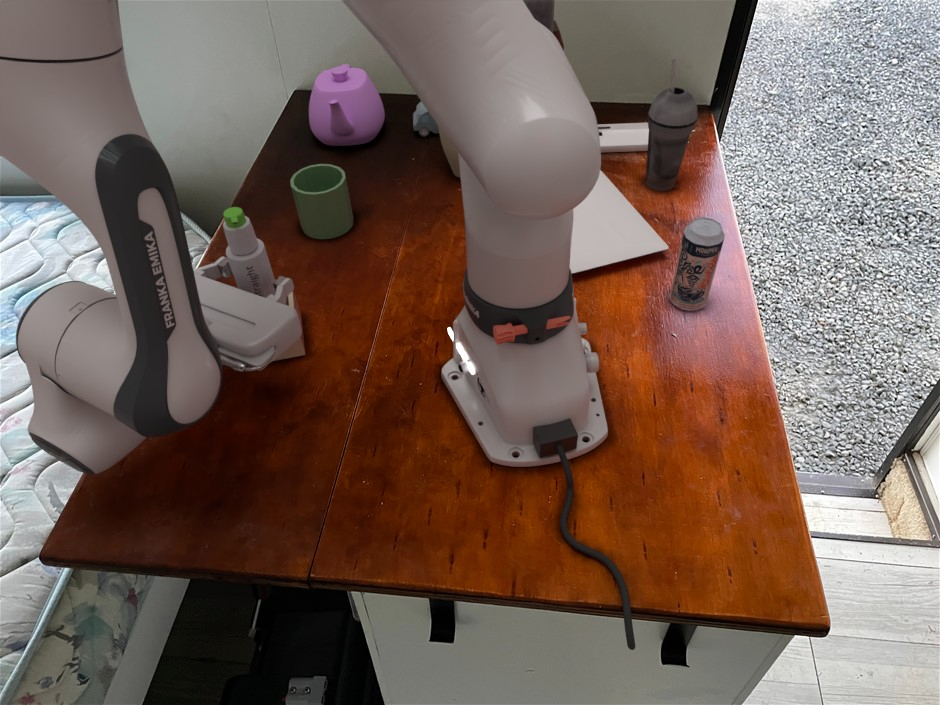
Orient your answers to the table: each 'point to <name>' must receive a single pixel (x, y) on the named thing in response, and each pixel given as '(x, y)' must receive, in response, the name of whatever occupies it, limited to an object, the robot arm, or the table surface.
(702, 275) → the beer can
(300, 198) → the green cup
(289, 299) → the ivory holder
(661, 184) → the beverage cup
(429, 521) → the table surface
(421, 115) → the toy car
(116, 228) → the robot arm
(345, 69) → the teapot
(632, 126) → the phone case
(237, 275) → the bottle
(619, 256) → the plate
